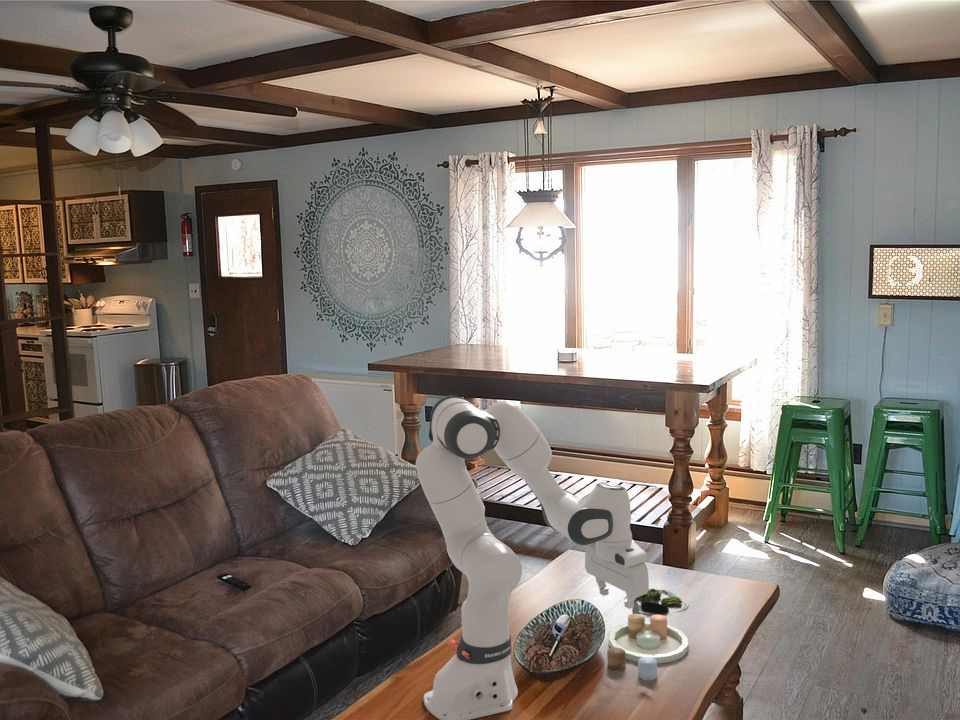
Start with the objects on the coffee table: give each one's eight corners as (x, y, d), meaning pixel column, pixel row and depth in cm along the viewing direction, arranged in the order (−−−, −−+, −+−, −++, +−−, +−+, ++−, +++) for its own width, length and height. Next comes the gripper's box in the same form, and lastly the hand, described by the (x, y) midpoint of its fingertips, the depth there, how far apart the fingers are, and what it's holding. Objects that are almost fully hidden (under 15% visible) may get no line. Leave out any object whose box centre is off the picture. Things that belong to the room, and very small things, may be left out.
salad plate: (609, 597, 254) (608, 583, 253) (662, 588, 259) (662, 574, 258) (639, 624, 235) (639, 608, 235) (696, 614, 241) (696, 598, 240)
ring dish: (645, 675, 207) (645, 661, 206) (593, 644, 224) (593, 631, 223) (704, 653, 217) (704, 640, 216) (650, 624, 234) (650, 612, 234)
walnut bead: (615, 676, 207) (615, 657, 206) (604, 669, 211) (603, 650, 210) (629, 671, 209) (629, 652, 208) (617, 664, 213) (617, 645, 212)
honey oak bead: (635, 640, 223) (635, 622, 222) (624, 634, 226) (624, 616, 226) (648, 636, 225) (648, 618, 224) (637, 630, 229) (637, 612, 228)
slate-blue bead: (647, 687, 202) (646, 667, 201) (634, 679, 205) (634, 660, 205) (660, 681, 204) (660, 662, 203) (648, 674, 208) (648, 655, 207)
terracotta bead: (658, 641, 222) (658, 623, 221) (646, 635, 225) (646, 617, 225) (670, 637, 224) (670, 619, 223) (659, 630, 228) (659, 613, 227)
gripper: (577, 538, 214) (580, 590, 216) (631, 563, 196) (634, 619, 198) (597, 532, 217) (599, 583, 219) (652, 556, 199) (654, 611, 202)
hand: (616, 600), depth 209 cm, fingers open, 8 cm apart
